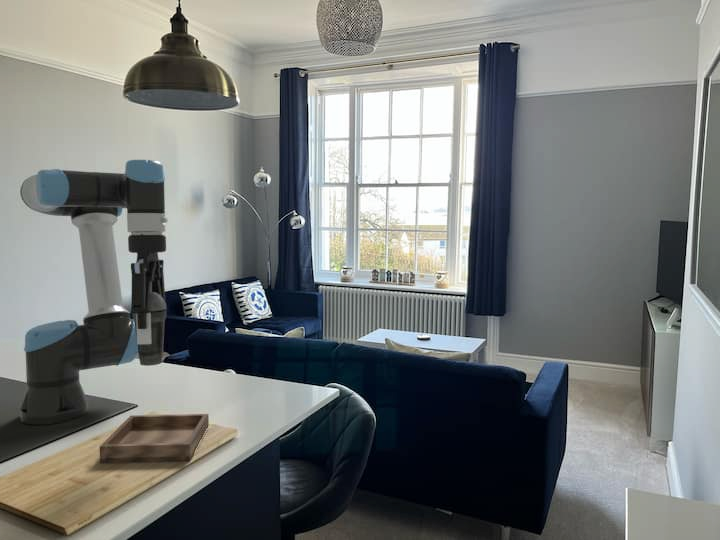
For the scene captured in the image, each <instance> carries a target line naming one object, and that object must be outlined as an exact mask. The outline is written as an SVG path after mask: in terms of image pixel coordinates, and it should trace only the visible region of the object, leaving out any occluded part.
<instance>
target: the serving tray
mask: <svg viewBox="0 0 720 540" xmlns="http://www.w3.org/2000/svg"><path fill="white" fill-rule="evenodd" d="M208 426H209V427H210V425H209V413H194V414H193V413H191V414H190V413H187V414H149V415H148V414H147V415H146V414H145V415H144V414H142V415H140V414H139V415H129V417H128V418H126V419H125V420H124V422H122V424H120V425H119V426H118V428H116V429H115V431H114V432H113V433H111V434H110V436H109V437H107V438H106V440H104V442H103V443H101V444H100V445H99V447H98V448H99V463H100V464H118V463H119V464H120V463H121V464H123V463H122V462H130V463H157V462H156V461H158V462H159V461H167V462H191V460H192V459H193V457H194V455H195V454H194V452H195V450H196V448H197V446H198V444H199V442H200V440H201V439H202V437H203V435H204V433H205V431H206V429H207V428H208ZM202 440H203V439H202ZM198 447H199V446H198ZM197 449H198V448H197ZM196 451H197V450H196ZM195 453H196V452H195ZM154 461H155V462H154ZM159 463H160V462H159Z"/></svg>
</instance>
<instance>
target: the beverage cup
mask: <svg viewBox="0 0 720 540" xmlns="http://www.w3.org/2000/svg"><path fill="white" fill-rule="evenodd" d="M166 303H167V302H166V301H164V299H163V298H162V297H161V296H160V295H159V294H158V293H155V292H152V282H151V289H150V300H149V311H148V313H151V342H152V343H151V344H137V347H138V354H137V355H138V359H139V365H141V366H144V367H145V366H146V367H147V366H149V367H150V366H158V365H160V364H162V363H163V358H164V357H163V356H164V342H165V340H164V339H165V325H166V323H165V322H166V318H167V311H168V309H167V305H166ZM131 317H132V319H133V320H134V323H135V331H136V339H137V326H136V313H135V314H132V313H131Z"/></svg>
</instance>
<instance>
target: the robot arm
mask: <svg viewBox="0 0 720 540" xmlns="http://www.w3.org/2000/svg"><path fill="white" fill-rule="evenodd" d="M165 180H166V179H165V174H164V165H163V164H162V162H161V161H157V160H154V159H153V160H152V159H130V160H128V161H126V163H125V171H124V173H118V172H103V171H102V172H99V171H98V172H97V171H79V170H63V169H58V168H56V169H55V168H52V169H41V170H39V171H38V172H37V174H34V175H31V176H28V178H26V179H24V181H23V182H22V184H21V185H20V191H19V193H20V197H21V200H22V202H23V203H24V205H26V207H28V208H30V210H32V211H35V212H38V213H40V214H44V215H49V216H55V217H59V216H60V217H70V219H71V224H72V225H73V226H74V227H76V228H77V229H78V233H79V242H80V251H81V259H82V260H81V261H82V268H83V275H84V285H85V293H86V294H85V295H86V301H87V309H88V311H87V314H86V315H84V317H83V320H82V321H83V324H81V325H79V323H78V322H77V321H76V320H73V319H66V320H57V321H51V322H47V323H43V324H39V325H37V326H34V327H31V328H30V329H29V330H27V331H26V333H25V334H24V335H25V336H24V348H23V351H24V353H25V372H26V390H25V394H24V396H23V400H22V403H21V406H20V410H19V418H20V419H19V420H20V422H22V423H24V424H26V425H35V426H37V425H38V426H39V425H53V424H57V423H59V424H60V423H64V422H67V421H72V420H75V419H77V418H80V417H82V416H84V415H86V413H87V412H89V402H88V399H87V395H86V393H85V392H84V389H83V387H82V384H81V383H80V382H81V381H80V371H86V370H91V369H97V368H104V367H110V366H119V365H125V364H128V363H131V362H133V361H134V360H136V358H137V356H138V355H139V354H138V347H137V344H151V343H152V342H151V313H148V311H149V300H150V289H151V282H152V292H155V293H158V294H159V295H160V296H161V297H162V298H163V299H164V301H165V303H166V306H167V302H166V301H167V300H166V292H165V289H166V288H165V276H164V263H165V262H164V259H159V254H158V253H165V252H166V251H167V238H166V235H165V234H163V233H165V232H166V223H167V222H168V219H167V218H166V217H165V216H166V214H165V213H166V211H165V209H166V205H165V202H166V201H165ZM123 209H126V218H127V219H126V220H127V221H126V222H127V223H126V224H127V226H126V227H127V232H128V233H130V235H128V236H127V243H128V252H129V253H131V254H132V253H133V254H135V253H136V255H137V256H136V261H135V262H131V264H130V272H131V297H130V298H131V301H130V302H131V304H130V305H131V307H130V311H128V310H127V309H126V308H125V307H124V305H123V304H124V303H123V296H122V295H123V294H122V289H121V288H122V287H121V280H120V273H119V266H118V265H119V264H118V257H117V249H116V244H115V237H114V227H113V226H114V225H115V224H116V223H117V222H118V217H120V216H121V215H122V213H123ZM135 313H136V326H137V339H136V331H135V323H134V320H133V318H131V317H132V316H131V315H132V314H135Z"/></svg>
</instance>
